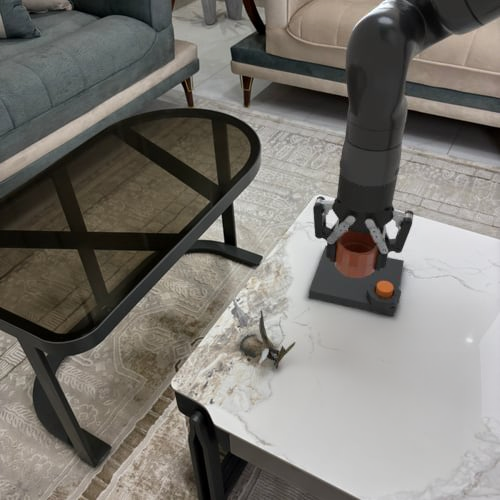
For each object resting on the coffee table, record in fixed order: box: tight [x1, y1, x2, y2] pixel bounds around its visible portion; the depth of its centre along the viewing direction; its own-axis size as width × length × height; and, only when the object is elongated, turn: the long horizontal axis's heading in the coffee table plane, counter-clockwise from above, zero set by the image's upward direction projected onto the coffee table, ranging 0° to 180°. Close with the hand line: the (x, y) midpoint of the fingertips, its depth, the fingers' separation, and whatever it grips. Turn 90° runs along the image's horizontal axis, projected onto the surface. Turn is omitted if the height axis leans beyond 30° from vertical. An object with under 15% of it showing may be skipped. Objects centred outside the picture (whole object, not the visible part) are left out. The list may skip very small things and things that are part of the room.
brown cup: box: [334, 229, 379, 278], centre depth 75 cm, size 6×6×5 cm
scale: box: [308, 245, 405, 317], centre depth 97 cm, size 16×14×4 cm
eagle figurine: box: [239, 309, 296, 369], centre depth 84 cm, size 8×7×9 cm
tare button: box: [376, 281, 394, 298], centre depth 91 cm, size 3×3×2 cm
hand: (355, 262), depth 76 cm, fingers closed on brown cup, 6 cm apart
